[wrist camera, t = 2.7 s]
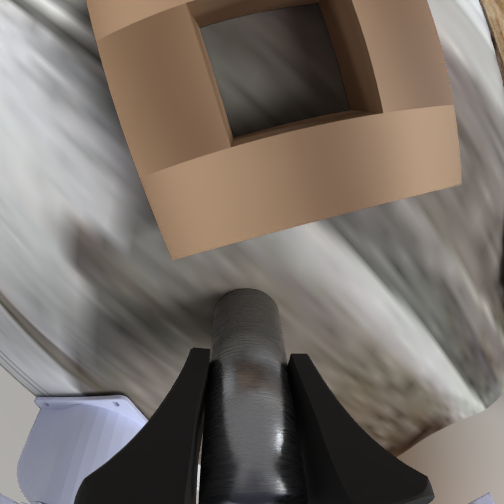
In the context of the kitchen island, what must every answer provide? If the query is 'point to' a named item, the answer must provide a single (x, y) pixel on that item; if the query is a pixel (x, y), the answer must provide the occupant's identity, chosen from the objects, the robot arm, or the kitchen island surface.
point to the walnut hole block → (282, 136)
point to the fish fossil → (496, 27)
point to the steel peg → (250, 409)
